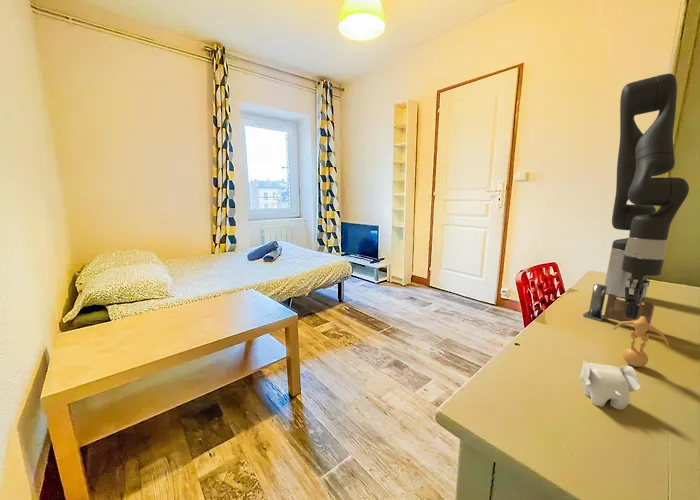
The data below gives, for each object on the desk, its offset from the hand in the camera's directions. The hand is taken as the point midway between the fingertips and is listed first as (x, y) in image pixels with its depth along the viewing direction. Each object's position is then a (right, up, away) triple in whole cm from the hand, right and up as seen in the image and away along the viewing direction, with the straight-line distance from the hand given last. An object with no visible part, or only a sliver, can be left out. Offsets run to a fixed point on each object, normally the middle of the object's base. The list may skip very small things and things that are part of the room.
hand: (630, 317), depth 80 cm
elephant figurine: (-31, -9, -26) cm, 41 cm away
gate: (+2, -2, +3) cm, 4 cm away
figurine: (-16, -7, -17) cm, 24 cm away
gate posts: (+1, -3, +5) cm, 6 cm away
